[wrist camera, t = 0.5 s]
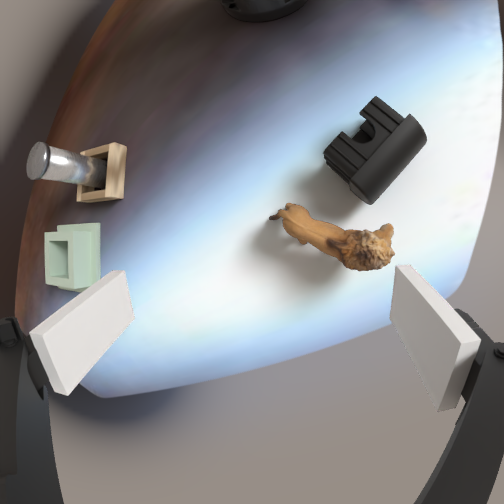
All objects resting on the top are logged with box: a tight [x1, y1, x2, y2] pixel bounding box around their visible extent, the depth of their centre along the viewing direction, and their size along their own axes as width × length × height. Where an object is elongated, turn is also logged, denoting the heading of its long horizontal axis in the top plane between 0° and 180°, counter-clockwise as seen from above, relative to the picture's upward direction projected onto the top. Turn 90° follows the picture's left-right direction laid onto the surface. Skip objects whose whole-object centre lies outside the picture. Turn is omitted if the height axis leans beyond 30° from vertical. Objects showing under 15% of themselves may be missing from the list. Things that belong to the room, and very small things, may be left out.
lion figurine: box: [269, 203, 395, 271], centre depth 32 cm, size 15×5×9 cm, turn 74°
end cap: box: [323, 96, 427, 205], centre depth 30 cm, size 10×7×7 cm
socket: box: [45, 223, 101, 293], centre depth 47 cm, size 12×12×5 cm
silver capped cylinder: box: [27, 142, 108, 189], centre depth 40 cm, size 5×5×15 cm
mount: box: [77, 142, 127, 203], centre depth 45 cm, size 9×9×3 cm
